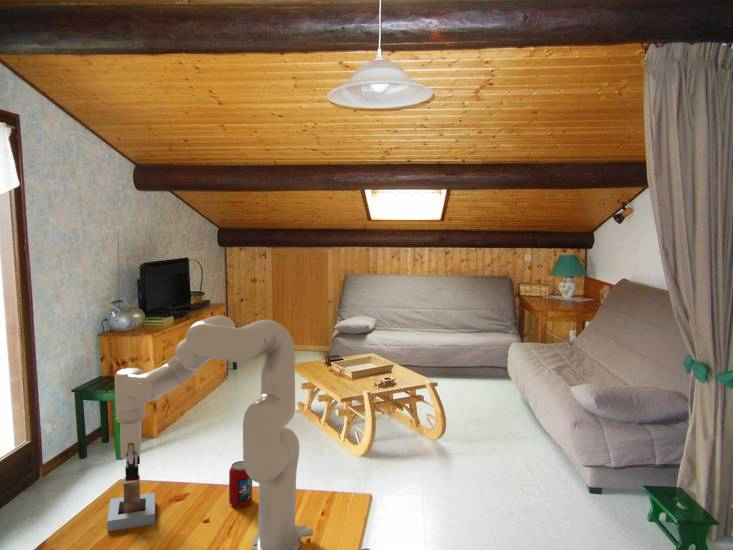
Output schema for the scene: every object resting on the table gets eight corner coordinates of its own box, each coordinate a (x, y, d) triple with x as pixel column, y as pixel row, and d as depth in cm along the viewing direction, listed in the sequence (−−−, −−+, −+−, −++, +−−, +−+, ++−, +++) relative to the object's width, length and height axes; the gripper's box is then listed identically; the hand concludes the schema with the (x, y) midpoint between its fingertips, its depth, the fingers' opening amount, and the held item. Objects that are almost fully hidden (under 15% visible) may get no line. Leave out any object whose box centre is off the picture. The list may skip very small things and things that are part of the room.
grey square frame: (155, 502, 163) (155, 492, 163) (154, 523, 152) (154, 513, 152) (110, 508, 159) (110, 498, 158) (107, 531, 148) (107, 521, 147)
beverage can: (246, 510, 160) (246, 471, 159) (225, 507, 161) (225, 468, 160) (255, 498, 167) (256, 461, 165) (235, 495, 168) (235, 458, 167)
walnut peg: (140, 511, 158) (139, 475, 157) (139, 518, 154) (139, 481, 153) (125, 513, 156) (124, 477, 155) (124, 521, 153) (123, 483, 151)
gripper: (118, 404, 158) (120, 461, 160) (113, 426, 142) (116, 488, 144) (146, 401, 161) (148, 457, 163) (144, 422, 145) (146, 484, 147)
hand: (133, 472), depth 154 cm, fingers open, 9 cm apart
